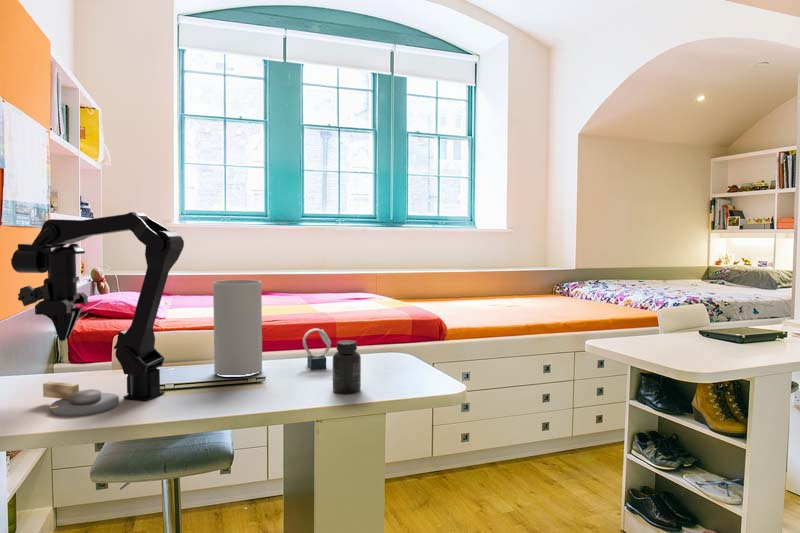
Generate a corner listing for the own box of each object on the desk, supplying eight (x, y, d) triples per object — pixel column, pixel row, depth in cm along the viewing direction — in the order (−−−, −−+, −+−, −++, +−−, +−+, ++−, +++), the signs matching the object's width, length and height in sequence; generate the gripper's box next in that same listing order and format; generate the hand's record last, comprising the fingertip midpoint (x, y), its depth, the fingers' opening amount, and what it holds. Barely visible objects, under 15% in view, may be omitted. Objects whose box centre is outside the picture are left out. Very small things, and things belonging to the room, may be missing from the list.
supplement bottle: (356, 385, 141) (357, 338, 140) (363, 393, 134) (363, 343, 133) (330, 387, 138) (330, 340, 138) (335, 395, 132) (335, 345, 131)
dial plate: (132, 400, 127) (131, 394, 127) (87, 419, 115) (87, 412, 114) (84, 396, 130) (84, 390, 130) (35, 413, 118) (35, 407, 118)
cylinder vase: (205, 377, 148) (203, 283, 146) (229, 366, 160) (228, 279, 158) (248, 380, 145) (247, 284, 143) (270, 369, 157) (269, 280, 155)
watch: (333, 368, 158) (333, 329, 158) (304, 370, 156) (304, 331, 155) (328, 363, 164) (328, 326, 163) (301, 365, 161) (301, 328, 160)
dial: (107, 397, 125) (107, 383, 124) (86, 405, 119) (85, 390, 119) (57, 393, 128) (57, 379, 128) (34, 400, 122) (34, 386, 122)
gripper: (36, 271, 137) (38, 334, 138) (6, 277, 119) (8, 349, 120) (87, 270, 140) (89, 332, 141) (64, 276, 122) (67, 346, 123)
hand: (64, 339), depth 131 cm, fingers open, 3 cm apart
